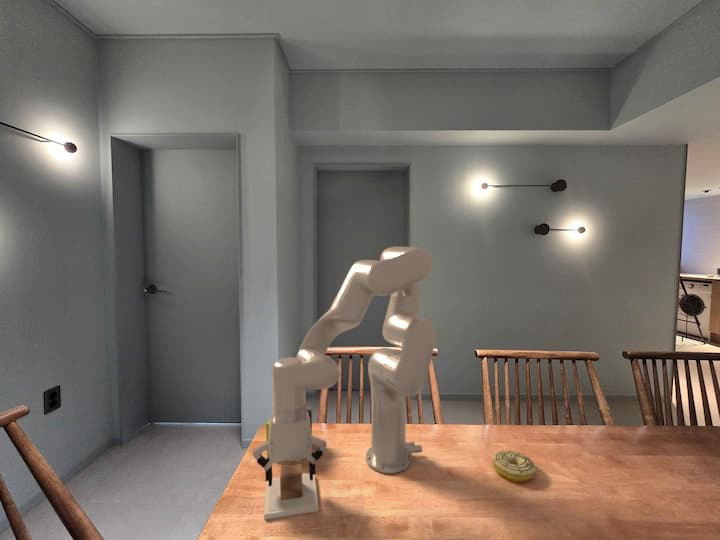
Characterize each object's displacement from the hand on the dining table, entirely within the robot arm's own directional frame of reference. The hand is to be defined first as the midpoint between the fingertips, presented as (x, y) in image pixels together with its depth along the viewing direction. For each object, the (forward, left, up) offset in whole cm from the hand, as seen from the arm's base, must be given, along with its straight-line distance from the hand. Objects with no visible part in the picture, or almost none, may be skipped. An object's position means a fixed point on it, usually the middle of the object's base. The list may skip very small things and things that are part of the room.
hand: (291, 479), depth 86 cm
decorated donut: (-58, +3, -5) cm, 59 cm away
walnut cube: (0, 0, -3) cm, 3 cm away
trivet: (0, 0, -4) cm, 4 cm away
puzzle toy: (0, -20, -5) cm, 21 cm away
